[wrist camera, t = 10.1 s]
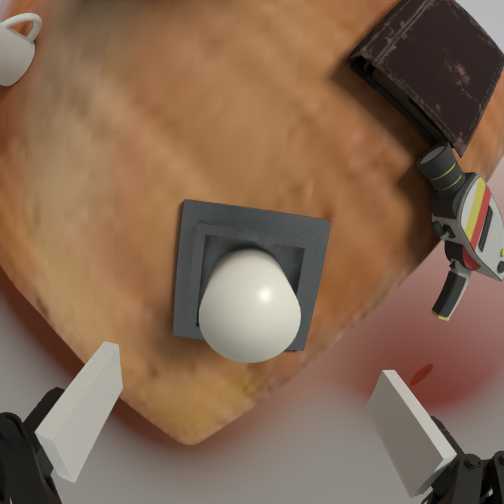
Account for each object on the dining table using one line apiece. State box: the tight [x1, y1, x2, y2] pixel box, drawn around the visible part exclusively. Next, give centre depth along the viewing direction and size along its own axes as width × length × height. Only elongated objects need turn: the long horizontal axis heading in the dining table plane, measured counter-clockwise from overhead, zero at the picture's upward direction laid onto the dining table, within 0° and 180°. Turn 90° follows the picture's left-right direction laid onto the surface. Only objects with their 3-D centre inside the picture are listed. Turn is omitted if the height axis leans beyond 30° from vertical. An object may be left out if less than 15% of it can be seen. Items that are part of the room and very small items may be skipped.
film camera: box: [415, 141, 504, 321], centre depth 30 cm, size 7×19×15 cm
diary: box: [347, 0, 504, 158], centre depth 26 cm, size 19×25×5 cm
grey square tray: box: [173, 199, 331, 351], centre depth 31 cm, size 16×16×4 cm
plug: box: [199, 246, 301, 363], centre depth 27 cm, size 8×8×10 cm
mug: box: [0, 13, 42, 86], centre depth 20 cm, size 8×10×12 cm
